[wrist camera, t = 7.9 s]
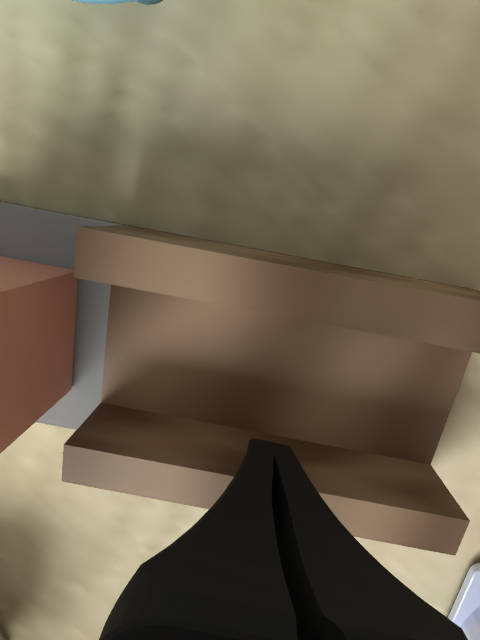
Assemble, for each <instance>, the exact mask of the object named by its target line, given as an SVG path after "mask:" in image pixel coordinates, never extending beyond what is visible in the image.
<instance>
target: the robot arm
mask: <svg viewBox="0 0 480 640" xmlns="http://www.w3.org/2000/svg"><path fill="white" fill-rule="evenodd" d="M99 640H480V563H476V564H474V565H472V566H471V568H470V569H469V571H468V573H467V576H466V578H465V580H464V582H463V585H462V587H461V589H460V591H459V594H458V596H457V598H456V601H455V603H454V605H453V607H452V610H451V612H450V614H449V616H448V618H447V617H445V616H444V615H443V614H441V613H440V612H439V611H437V610H436V609H435V608H433V607H432V606H430V605H429V604H428V603H426V602H425V601H424V600H422V599H421V598H420V597H418V596H417V595H416V594H415V593H414V592H412V591H411V590H410V589H409V588H408V587H406V586H405V585H404V584H403V583H401V582H400V581H399V580H398V579H397V578H396V577H394V576H393V575H392V574H391V573H390V572H389V571H388V570H387V569H385V568H384V567H383V566H382V565H381V564H380V563H379V562H378V561H377V560H376V559H375V558H374V557H373V556H372V555H371V554H370V553H369V552H368V551H367V550H366V549H365V548H364V547H363V546H362V545H361V544H360V543H359V542H358V541H357V540H356V539H355V538H354V537H353V536H352V535H351V533H350V532H349V531H348V530H347V529H346V528H345V527H344V525H343V524H342V523H341V522H340V521H339V520H338V518H337V517H336V516H335V515H334V513H333V512H332V511H331V509H330V508H329V507H328V505H327V504H326V503H325V501H324V500H323V499H322V497H321V496H320V494H319V493H318V491H317V490H316V488H315V487H314V485H313V484H312V482H311V481H310V479H309V477H308V476H307V474H306V472H305V471H304V469H303V467H302V466H301V464H300V462H299V461H298V459H297V457H296V455H295V454H294V452H293V450H292V448H291V447H290V446H289V445H284V444H279V443H274V442H269V441H264V440H259V439H254V438H253V439H251V440H249V443H248V448H247V452H246V455H245V458H244V460H243V462H242V464H241V466H240V467H239V469H238V471H237V473H236V475H235V476H234V478H233V479H232V481H231V482H230V484H229V485H228V487H227V488H226V490H225V491H224V492H223V494H222V495H221V496H220V498H219V499H218V500H217V501H216V502H215V504H214V505H213V506H212V507H211V508H210V509H209V510H208V511H207V512H206V513H205V515H204V516H203V517H202V518H201V519H200V520H199V521H198V522H197V523H196V524H195V525H194V526H192V527H191V528H190V529H189V530H188V531H187V532H185V533H184V534H183V535H182V536H181V537H179V538H178V539H177V540H176V541H175V542H173V543H172V544H171V545H170V546H168V547H167V548H165V549H164V550H162V551H161V552H159V553H158V554H156V555H155V556H153V557H152V558H150V559H149V560H147V561H146V562H144V563H143V564H141V566H140V567H139V568H138V570H137V571H136V573H135V574H134V575H133V577H132V578H131V580H130V581H129V583H128V584H127V586H126V587H125V589H124V590H123V592H122V593H121V595H120V597H119V598H118V600H117V602H116V604H115V605H114V607H113V609H112V611H111V613H110V615H109V617H108V619H107V621H106V623H105V626H104V628H103V631H102V633H101V636H100V638H99Z"/></svg>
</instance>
